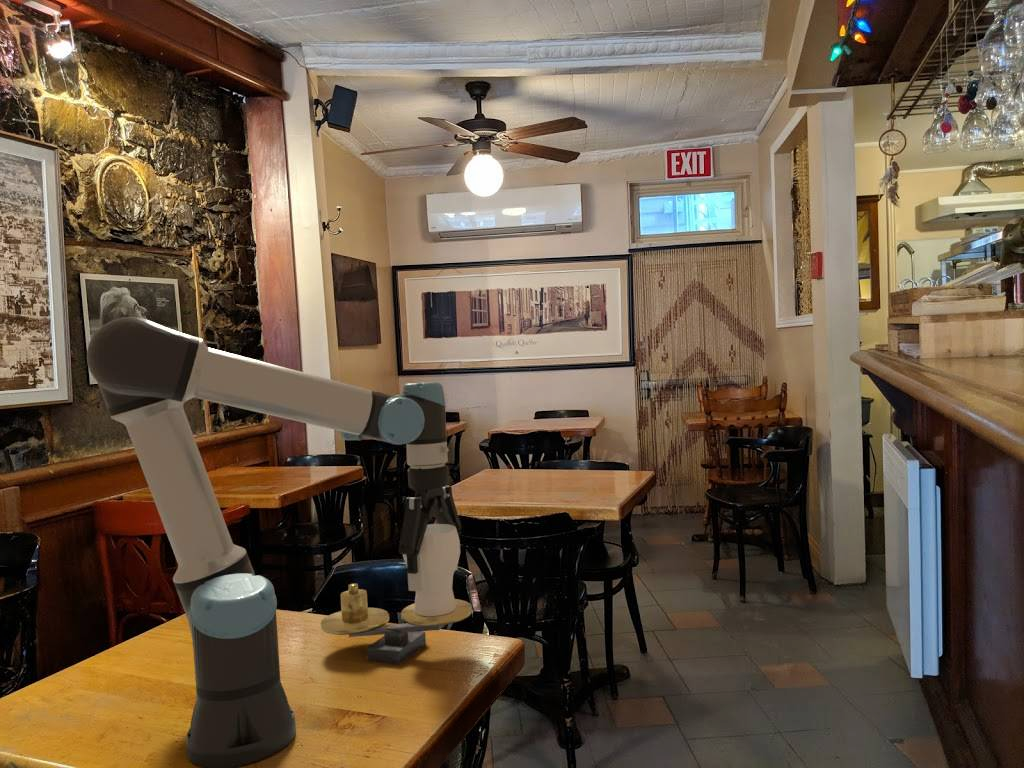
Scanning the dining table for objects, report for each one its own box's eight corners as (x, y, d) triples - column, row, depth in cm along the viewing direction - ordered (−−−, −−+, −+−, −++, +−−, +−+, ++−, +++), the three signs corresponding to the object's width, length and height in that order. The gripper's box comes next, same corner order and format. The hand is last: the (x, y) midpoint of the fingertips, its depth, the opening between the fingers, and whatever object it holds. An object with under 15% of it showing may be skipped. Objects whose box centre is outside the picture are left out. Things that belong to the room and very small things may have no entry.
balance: (455, 674, 128) (451, 603, 128) (308, 657, 140) (304, 593, 140) (485, 646, 140) (481, 582, 140) (347, 633, 152) (344, 573, 152)
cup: (460, 618, 131) (455, 534, 131) (401, 620, 131) (396, 537, 131) (466, 599, 142) (461, 521, 141) (411, 601, 142) (407, 524, 142)
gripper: (412, 475, 123) (419, 601, 123) (474, 456, 146) (480, 562, 147) (374, 475, 126) (381, 598, 126) (440, 456, 149) (446, 561, 149)
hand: (434, 579), depth 136 cm, fingers open, 13 cm apart
